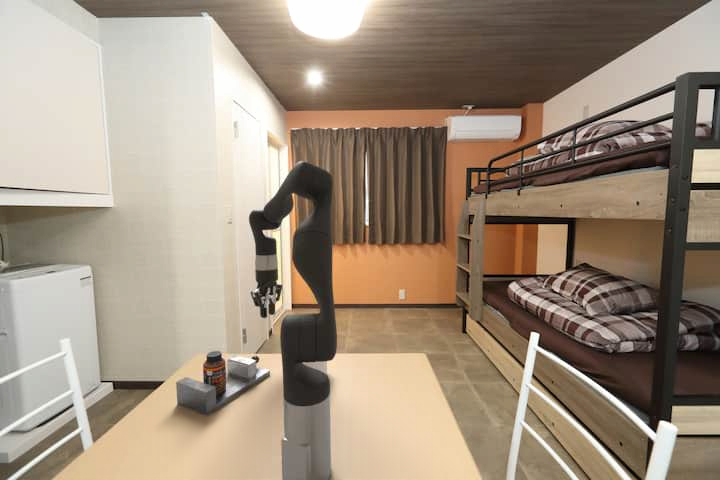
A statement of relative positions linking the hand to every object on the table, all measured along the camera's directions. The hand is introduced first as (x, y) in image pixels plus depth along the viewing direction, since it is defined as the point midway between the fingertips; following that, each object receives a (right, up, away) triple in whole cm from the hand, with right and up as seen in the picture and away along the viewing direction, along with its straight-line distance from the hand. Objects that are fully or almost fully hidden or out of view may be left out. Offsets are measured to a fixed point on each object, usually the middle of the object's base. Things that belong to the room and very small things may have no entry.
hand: (268, 315), depth 114 cm
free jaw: (-4, -16, -7) cm, 18 cm away
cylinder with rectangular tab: (+17, -18, -7) cm, 26 cm away
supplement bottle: (-10, -18, -19) cm, 28 cm away
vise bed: (-8, -19, -15) cm, 25 cm away
